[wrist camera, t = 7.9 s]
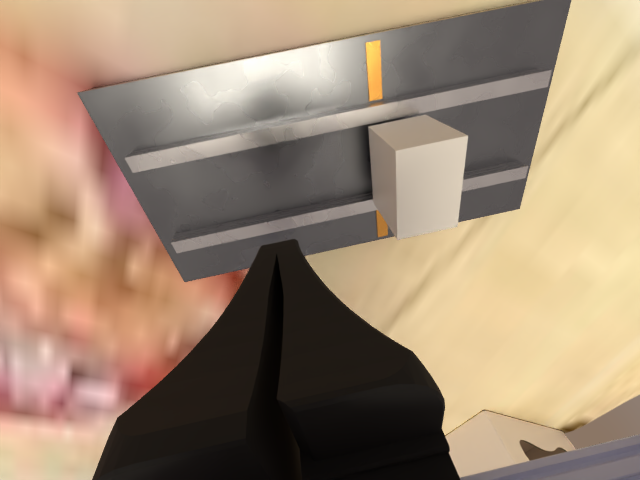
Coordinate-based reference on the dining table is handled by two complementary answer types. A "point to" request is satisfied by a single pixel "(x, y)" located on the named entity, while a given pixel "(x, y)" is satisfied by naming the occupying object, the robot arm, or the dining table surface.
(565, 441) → the gable box
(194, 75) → the fader console
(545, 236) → the dining table surface
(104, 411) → the dining table surface
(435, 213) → the fader tab
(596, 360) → the dining table surface
